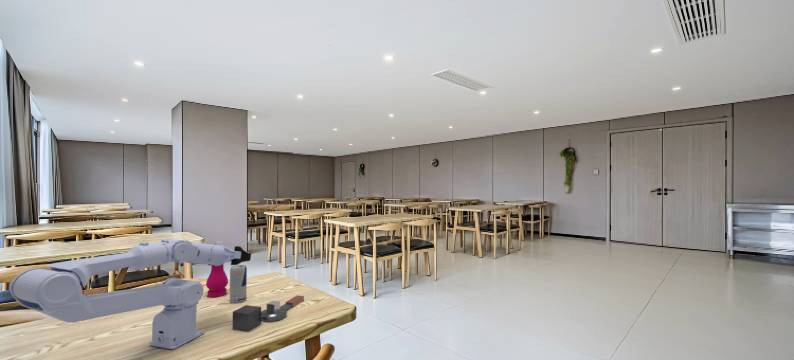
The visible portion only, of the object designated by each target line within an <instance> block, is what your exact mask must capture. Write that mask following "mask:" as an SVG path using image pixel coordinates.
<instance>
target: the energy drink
mask: <svg viewBox="0 0 794 360" xmlns="http://www.w3.org/2000/svg"><path fill="white" fill-rule="evenodd" d="M247 268H248V267H247V265H244V264H238V265H231V266H230V270H229V302H230V303H232V304H239V303H242V302H244V301H246V300H247V288H248V287H247V282H248V281H247V276H248V275H247V273H248V269H247Z"/></svg>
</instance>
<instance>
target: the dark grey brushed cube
mask: <svg viewBox="0 0 794 360" xmlns="http://www.w3.org/2000/svg"><path fill="white" fill-rule="evenodd" d="M261 311H262V306H257V305H250V304H249V305H248V304H245V305H243V306H241V307H239V308H237V309H235V310H234V311H232V330H234V331H240V332H241V331H242V332H250V331H252V330H254V329H256V328H257V327H259V326H260V325H261V324H262V321H261Z"/></svg>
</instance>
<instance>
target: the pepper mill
mask: <svg viewBox="0 0 794 360" xmlns="http://www.w3.org/2000/svg"><path fill="white" fill-rule="evenodd" d="M217 242H220V241H219V240H217V241H216V242H215V243H214V245H217ZM224 264H225V263H223V264H221V265H219V266H214V265H210V272H209V275H208V276H207V279H206V283H205V285H206V288H207V289H208V291H207V295H206V296H207V297H209V298H220V297H223V296H225V295H226V294H227V291H228V290H227V288H226V287H227V286H228V284H229V279H228V275H227V274H226V272H225V267H224Z"/></svg>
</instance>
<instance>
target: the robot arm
mask: <svg viewBox="0 0 794 360" xmlns="http://www.w3.org/2000/svg"><path fill="white" fill-rule="evenodd" d="M216 242H217V241H216ZM251 258H252V254H251V253H249V251H248V252H247V251H245V249H243V248H242V246H239V245H236V246H234V249H231V248H229V247H227V246H225V245H224V242H223V241H219V242H217V245H215V244H210V243H202V242H196V241H189V240H187V239H185V240H183V239H182V240H181V239H173V238H172V239H168V238H167V239H166V238H165V239H161V241H159V242H153V243H150V242H147V241H143V242H141V241H140V242H139V245H134V246H132V247H131V248H130V249H129V250H128V251H127V252H122V253H115V254H109V255H102V256H93V257H85V258H80V259H73V260H66V261H60V262H53V263H50V264H46V265H45V267H48V268H50V269H48V268H45V267H32V268H28V269H26V270H24V271H22V272H20V273H18V274H17V275H16V276H15V277H14V278H13V280H12V281H11V283H10V285H9V292H10V294H11V296H12V297H13V298H14V299H15V300H16V302H18V303H19V305H21V306H22V307H25V308H27V309H31V310H33V311H36V312H38V313H41V314H43V315H46V316H48V317H51V318H53V319H56V320H59V321H61V322H62V321H63V322H65V323H72V324H73V323H78V322H83V321H88V320H93V319H99V318H103V317H108V316H113V315H118V314H125V313H128V312H133V311H138V310H139V311H140V310H144V309H148V308H153V307H154V308H155V307H159V306H164V308H163V309H162V310H161V311H160V312H158V313H157V314H156V315H154V317H153V319H152V325H151V326H152V327H151V328H152V329H151V330H152V331H151V332H152V333H151V335H152V336H151V342H150V343H149V346H151V347H158V348H162V349H168V350H169V349H170V350H175V349H177V348H179V347H181V346H182V345H185V344H187V343H189V342H190V341H192V340H195V339H196V338H198V337H199V336H201V335H203V334H205V331H204V330H197V318H198V317H197V313H198V311H197V310H198V308H197V307H198V304H199V301H200V300H201V299H202V297H203V294H204V285H203V284H202V283H201V282H200V281H198V280H187V279H181V278H177V277H169V278H167V279H165V280H164V281H162V282H157V283H155V284H154V285H150V286H144V287H143V286H141V287H136V288H129V289H122V290H121V289H120V290H114V291H107V292H106V291H105V292H101V293H93V294H88V295H87V294H86V295H85V294H84V293H83V289H82V287H83V288H84V287H85V286H87V284H88V283H89V282H90V280H91V278H92V277H93V276H97V275H101V274H104V273H108V272H113V271H117V270H121V269H124V268H129V267H130V268H131V269H132V270H135V271H140V270H144V269H148V268H149V269H150V268H154V267H157V266H161V265H166V264H168V263H170V262H171V263H178V264H183V263H186V264H187V263H188V264H199V265H207V266H211V265H214V266H219V265H221V264H223V263H224V264H225V263H228V262H230V266H236V265H241V263H243V262H246V263H247V262H250V261H251Z"/></svg>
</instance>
